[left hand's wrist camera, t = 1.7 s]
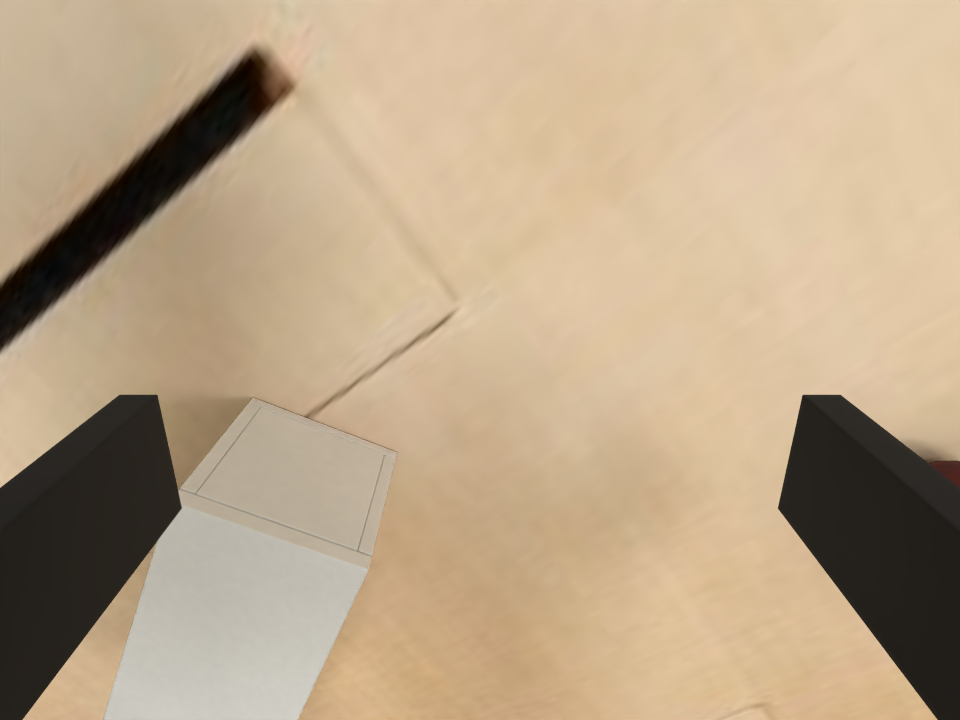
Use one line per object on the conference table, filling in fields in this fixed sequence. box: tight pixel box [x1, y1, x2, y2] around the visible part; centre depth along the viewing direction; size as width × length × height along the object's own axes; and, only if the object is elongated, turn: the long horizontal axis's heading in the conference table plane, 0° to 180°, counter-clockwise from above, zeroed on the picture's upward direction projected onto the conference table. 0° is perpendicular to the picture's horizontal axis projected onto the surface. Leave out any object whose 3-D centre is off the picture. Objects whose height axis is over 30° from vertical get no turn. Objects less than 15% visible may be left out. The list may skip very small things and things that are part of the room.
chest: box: [179, 398, 397, 557], centre depth 34 cm, size 17×9×9 cm, turn 156°
